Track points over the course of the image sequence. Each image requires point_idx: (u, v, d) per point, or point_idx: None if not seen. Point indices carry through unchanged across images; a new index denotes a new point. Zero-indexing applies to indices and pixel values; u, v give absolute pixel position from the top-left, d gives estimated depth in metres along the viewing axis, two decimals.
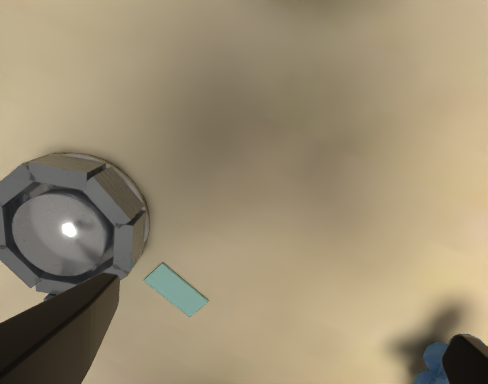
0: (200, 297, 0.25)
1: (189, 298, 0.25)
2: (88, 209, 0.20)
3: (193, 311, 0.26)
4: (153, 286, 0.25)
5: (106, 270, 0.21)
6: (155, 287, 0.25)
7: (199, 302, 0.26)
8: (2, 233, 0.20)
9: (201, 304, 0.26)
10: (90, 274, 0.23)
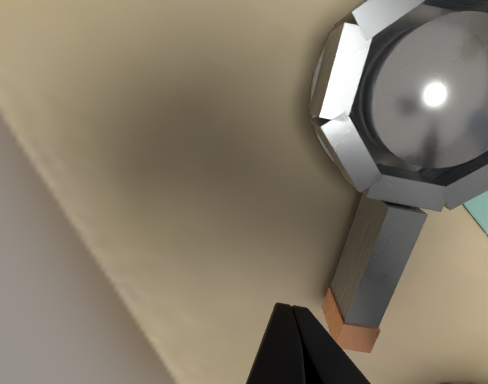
0: None
1: None
2: None
3: None
4: (471, 209, 0.17)
5: None
6: (474, 210, 0.17)
7: None
8: (352, 91, 0.12)
9: None
10: (429, 177, 0.15)
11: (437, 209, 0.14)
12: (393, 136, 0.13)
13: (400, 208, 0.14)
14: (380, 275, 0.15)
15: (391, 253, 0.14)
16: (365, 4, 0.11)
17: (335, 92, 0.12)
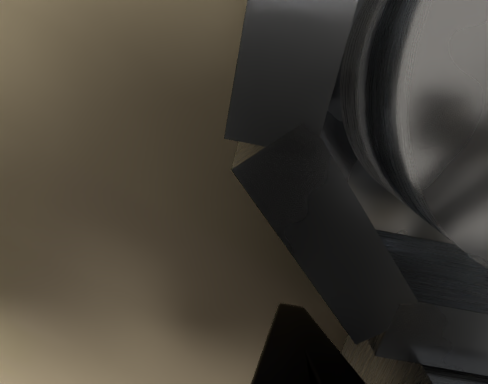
0: None
1: None
2: None
3: None
4: None
5: None
6: None
7: None
8: (329, 48, 0.03)
9: None
10: None
11: None
12: (467, 203, 0.04)
13: None
14: None
15: None
16: None
17: (271, 53, 0.04)
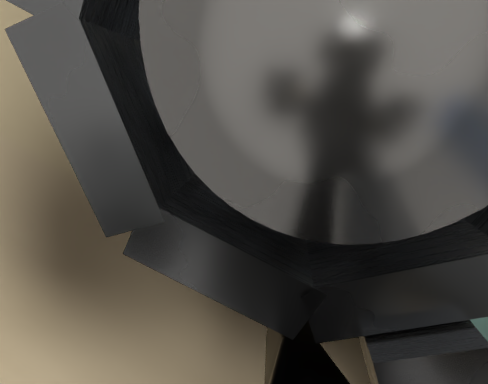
0: None
1: None
2: None
3: None
4: None
5: None
6: None
7: None
8: (126, 156, 0.05)
9: None
10: None
11: None
12: (209, 150, 0.05)
13: (408, 351, 0.05)
14: None
15: None
16: None
17: (98, 176, 0.05)
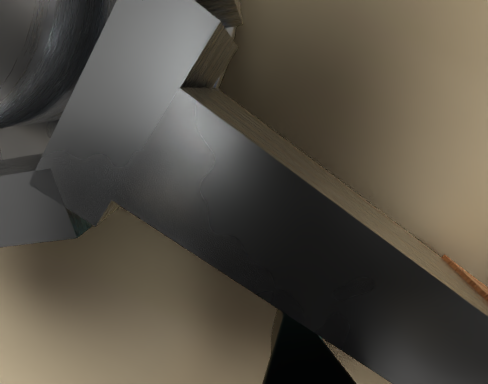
0: None
1: None
2: None
3: None
4: None
5: None
6: None
7: None
8: None
9: None
10: None
11: (204, 32, 0.04)
12: None
13: (136, 163, 0.04)
14: (347, 294, 0.04)
15: (282, 241, 0.04)
16: None
17: None
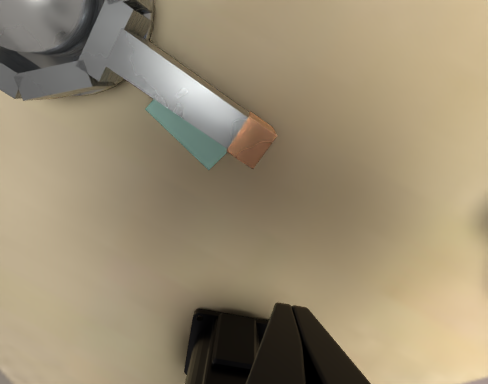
0: None
1: (209, 138, 0.18)
2: None
3: (214, 160, 0.19)
4: (158, 119, 0.18)
5: None
6: (161, 120, 0.18)
7: None
8: None
9: (225, 148, 0.18)
10: None
11: (129, 13, 0.13)
12: None
13: (110, 53, 0.13)
14: (180, 95, 0.14)
15: (157, 76, 0.14)
16: None
17: None
